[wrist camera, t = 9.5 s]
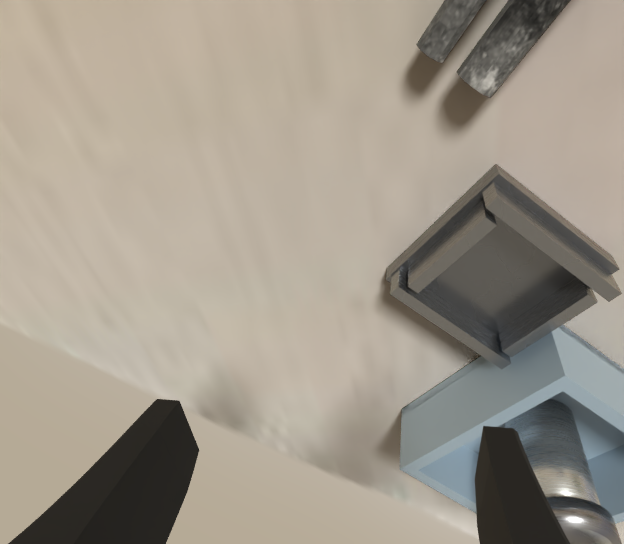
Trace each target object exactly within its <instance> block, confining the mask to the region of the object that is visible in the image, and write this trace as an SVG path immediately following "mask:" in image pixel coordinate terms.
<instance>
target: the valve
mask: <svg viewBox="0 0 624 544" xmlns="http://www.w3.org/2000/svg"><path fill="white" fill-rule="evenodd" d="M485 1H486V0H445V1H444V2H443V4H442V5H441V7H440V9H439V10H438V12H437V13H436V15H435V16H434V18H433V20H432V21H431V23H430V24H429V26H428V27H427V29H426V30H425V32H424V34H423V35H422V37H421V38H420V40H419V41H418V43H417V46H418V48H419V49H420V50H421V51H422V52H423V53H424V54H426V55H427V56H428V57H430V58H432V59H433V60H435V61H437V62H440V63H443V61H444V60H445V58H446V57H447V56H448V54H449V53H450V51H451V50H452V48H453V47H454V45H455V44H456V43H457V41H458V40H459V38H460V37H461V35H462V34H463V33H464V31H465V30H466V28H467V27H468V25H469V24H470V22H471V21H472V20H473V18H474V17H475V15H476V14H477V12H478V11H479V10H480V8H481V7H482V5H483V4H484V2H485ZM569 1H570V0H509V1H508V2H507V3H506V5H505V6H504V8H503V9H502V10H501V12H500V13H499V14H498V16H497V17H496V19H495V20H494V21H493V23H492V24H491V25H490V27H489V28H488V30H487V31H486V32H485V34H484V35H483V36H482V38H481V39H480V41H479V42H478V43H477V45H476V46H475V47H474V49H473V50H472V51H471V53H470V54H469V56H468V57H467V58H466V60H465V61H464V62H463V64H462V65H461V67H460V68H459V69H458V71H457V73H458V75H459V76H460V77H461V78H462V79H463V80H464V81H465V82H466V83H467V84H469V85H470V86H471V87H472V88H474V89H475V90H477V91H478V92H480V93H481V94H483V95H485V96H487V97H492V96H493V95H494V94H495V92H496V91H497V90H498V89H499V87H500V86H501V85H502V84H503V83H504V81H505V80H506V79H507V78H508V76H509V75H510V74H511V73H512V71H513V70H514V69H515V68H516V67H517V65H518V64H519V63H520V62H521V60H522V59H523V58H524V57H525V55H526V54H527V53H528V52H529V51H530V49H531V48H532V47H533V46H534V44H535V43H536V42H537V41H538V39H539V38H540V37H541V36H542V35H543V33H544V32H545V31H546V30H547V28H548V27H549V26H550V25H551V23H552V22H553V21H554V20H555V19H556V17H557V16H558V15H559V14H560V12H561V11H562V10H563V9H564V7H565V6H566V5H567V4H568V3H569Z"/></svg>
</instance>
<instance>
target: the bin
mask: <svg viewBox="0 0 624 544" xmlns="http://www.w3.org/2000/svg"><path fill="white" fill-rule="evenodd" d="M510 360H511V364H510V365H508V366H506V367H505V368H503V369H500V368H499V367H497V366H496V365H494V364H493V363H491V362H490V361H488V360H487V359H485V358H484V357H482V356H480V357H479V358H477V359H476V360H474V361H473V362H471V363H470V364H468V365H467V366H465V367H464V368H462V369H461V370H459V371H458V372H456V373H455V374H453V375H452V376H450V377H449V378H447V379H446V380H444V381H443V382H441V383H440V384H438V385H437V386H435V387H434V388H432V389H431V390H430V391H428V392H427V393H425V394H424V395H422V396H421V397H419V398H418V399H416V400H415V401H413V402H412V403H410V404H409V405H407V406H406V407H404V408H403V409H402V418H401V445H400V470H402V471H403V472H405V473H407V474H409V475H410V476H412V477H414V478H416V479H417V480H419V481H421V482H423V483H424V484H426V485H428V486H429V487H431V488H433V489H435V490H436V491H438V492H440V493H442V494H443V495H445V496H447V497H449V498H450V499H452V500H454V501H456V502H457V503H459V504H461V505H462V506H464V507H466V508H468V509H469V510H471V511H473V512H475V513H476V514H477V512H476V494H475V473H476V467H477V461H478V455H479V449H480V443H481V437H482V430H483V426H491V427H503V424H504V423H505V422H507V421H509V420H511V419H513V418H515V417H516V416H518V415H520V414H522V413H524V412H526V411H527V410H529V409H531V408H533V407H535V406H537V405H538V404H540V403H542V402H544V401H546V400H548V399H553V400H556V401H559V402H561V403H563V404H565V405H566V406H568V407H569V408H570V410H571V411H572V413H573V415H574V419H575V422H576V425H577V429H578V432H579V435H580V438H581V442H582V445H583V448H584V452H585V455H586V458H587V462H588V465H589V468H590V471H591V475H592V478H593V481H594V485H595V488H596V491H597V495H598V498H599V501H600V504H601V506H602V507H604V508H605V509H606V510H608V511H609V512H610V513H611V515H612V516H613V518H614V522H615V524H616V523H619V522H622V521H624V369H623V368H621V367H620V366H619V365H617V364H616V363H615V362H613V361H612V360H610V359H609V358H608V357H606V356H605V355H604V354H602V353H601V352H599V351H598V350H597V349H595V348H594V347H593V346H591V345H590V344H588V343H587V342H586V341H584V340H583V339H582V338H580V337H579V336H577V335H576V334H575V333H573V332H572V331H571V330H569V329H568V328H566V327H565V326H564V325H561V326H560V327H558V328H557V329H555V330H553V331H552V332H550V333H549V334H547V335H546V336H544V337H542V338H541V339H539V340H538V341H536V342H535V343H533V344H532V345H530V346H528V347H527V348H525V349H524V350H522V351H521V352H519V353H517V354H516V355H514V356H513V357H510Z"/></svg>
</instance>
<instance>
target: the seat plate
mask: <svg viewBox="0 0 624 544" xmlns="http://www.w3.org/2000/svg"><path fill="white" fill-rule="evenodd" d="M617 270H619V267H618V265H617V264H616V262H615V260H614V258H613V257H612V256H611V255H610V254H609V253H607V252H606V251H605V250H604V249H602V248H601V247H600V246H598V245H597V244H596V243H595V242H593V241H592V240H591V239H590V238H588V237H587V236H586V235H585V234H583V233H582V232H581V231H580V230H578V229H577V228H576V227H575V226H573V225H572V224H571V223H570V222H568V221H567V220H566V219H565V218H563V217H562V216H561V215H560V214H558V213H557V212H556V211H554V210H553V209H552V208H551V207H549V206H548V205H547V204H546V203H544V202H543V201H542V200H541V199H539V198H538V197H537V196H536V195H534V194H533V193H532V192H531V191H529V190H528V189H527V188H526V187H524V186H523V185H522V184H521V183H519V182H518V181H517V180H516V179H514V178H513V177H512V176H510V175H509V174H508V173H507V172H505V171H504V170H503V169H502V168H500V167H499V166H498V165H497V164H495V165H494V166H493V167H492V168H491V169H490V170H489V171H488V172H487V173H486V174H485V175H484V176H483V177H482V178H481V179H480V180H479V181H478V182H477V183H476V184H475V185H473V186H472V187H471V188H470V189H469V190H468V191H467V192H466V193H465V194H464V195H463V196H462V197H461V198H460V199H459V200H458V201H457V202H456V203H455V204H454V205H453V206H451V207H450V208H449V209H448V210H447V211H446V212H445V213H444V214H443V215H442V216H441V217H440V218H439V219H438V220H437V221H436V222H435V223H434V224H433V225H432V226H431V227H430V228H428V229H427V230H426V231H425V232H424V233H423V234H422V235H421V236H420V237H419V238H418V239H417V240H416V241H415V242H414V243H413V244H412V245H411V246H410V247H409V248H408V249H407V250H405V251H404V252H403V253H402V254H401V255H400V256H399V257H398V258H397V259H396V260H395V261H394V262H393V263H392V264H391V265H390V266H389V267H388V268H387V272H386V280H387V281H388V282H390V283H391V287H390V295H392V296H393V297H395V298H396V299H398V300H399V301H401V302H402V303H403V304H405V305H406V306H408V307H409V308H411V309H412V310H414V311H415V312H417V313H418V314H420V315H421V316H423V317H424V318H426V319H427V320H429V321H430V322H432V323H433V324H435V325H436V326H438V327H439V328H441V329H442V330H444V331H445V332H447V333H448V334H450V335H451V336H453V337H454V338H456V339H457V340H459V341H460V342H461V343H463V344H464V345H466V346H467V347H469V348H470V349H472V350H473V351H475V352H476V353H478V354H479V355H481V356H482V357H484V358H485V359H487V360H488V361H490V362H491V363H493V364H494V365H496V366H497V367H499V368H500V369H503V368H505V367H506V366H508V365H510V364H511V360H510V357H513V356H514V355H516V354H517V353H519V352H521V351H522V350H524V349H525V348H527V347H528V346H530V345H532V344H533V343H535V342H536V341H538V340H539V339H541V338H542V337H544V336H546V335H547V334H549V333H550V332H552V331H553V330H555V329H557V328H558V327H560V326H561V325H563V324H564V323H566V322H568V321H569V320H571V319H572V318H574V317H575V316H577V315H578V314H580V313H582V312H583V311H585V310H586V309H588V308H589V307H591V306H593V305H594V304H596V303H597V299H596V297H595V295H594V293H593V291H592V289H593V290H594V291H595V292H597V293H598V294H599V295H601V296H602V297H603V298H605V299H606V300H607V301H608V302H609V301H611V300H613V299H614V298H616V297H617V296H619V295H620V294H622V293H621V291H620V289H619V287H618V285H617V284H616V282H615V280H614V278H613V276H612V274H613V273H614V272H616V271H617Z"/></svg>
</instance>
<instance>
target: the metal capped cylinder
mask: <svg viewBox="0 0 624 544" xmlns="http://www.w3.org/2000/svg"><path fill="white" fill-rule="evenodd" d="M503 428H513V429H514V430H516V431H517V432H518V435H519V438H520V440H521V443H522V445H523V448H524V450H525V453H526V455H527V458H528V460H529V462H530V464H531V467H532V469H533V471H534V473H535V476H536V478H537V480H538V482H539V484H540V486H541V488H542V490H543V492H544V494H545V497H546V499H547V500H548V502H549V504H550V506H551V508H552V510H553V512H554V514H555V516H556V518H557V520H558V522H559V524H560V525H561V527H562V529H563V531H564V533H565V535H566V537H567V538H568V540H569V542H570V544H621V540H620V537H619V534H618V531H617V528H616V525H615V522H614V518H613V516H612V515H611V513H610V512H609V511H608V510H606V509H605V508H604V507H602V506H601V504H600V501H599V498H598V495H597V491H596V488H595V485H594V481H593V478H592V475H591V471H590V468H589V465H588V462H587V458H586V455H585V452H584V448H583V445H582V442H581V438H580V435H579V432H578V429H577V425H576V422H575V419H574V415H573V413H572V411H571V410H570V408H569V407H568V406H566V405H565V404H563V403H561V402H559V401H556V400H553V399H548V400H546V401H544V402H542V403H540V404H538V405H537V406H535V407H533V408H531V409H529V410H527V411H526V412H524V413H522V414H520V415H518V416H516V417H515V418H513V419H511V420H509V421H507V422H505V423H504V424H503Z"/></svg>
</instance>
